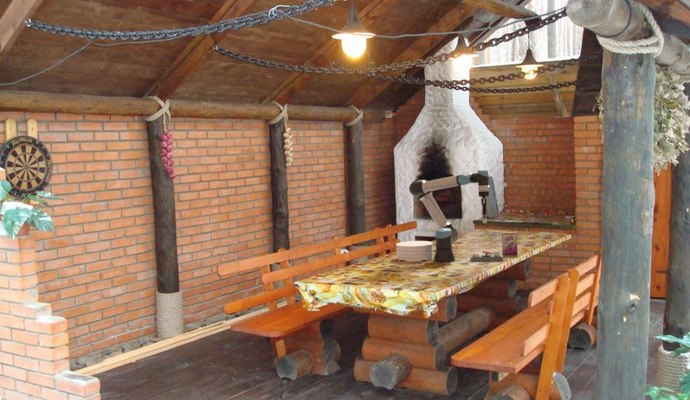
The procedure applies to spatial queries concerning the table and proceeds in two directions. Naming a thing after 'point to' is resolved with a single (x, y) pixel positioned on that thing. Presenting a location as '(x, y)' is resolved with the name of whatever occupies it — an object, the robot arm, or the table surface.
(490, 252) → the rocker
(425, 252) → the plate stack
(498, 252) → the pale green cube
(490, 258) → the panel
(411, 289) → the table surface
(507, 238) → the candy bar box
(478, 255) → the cream rounded ball
